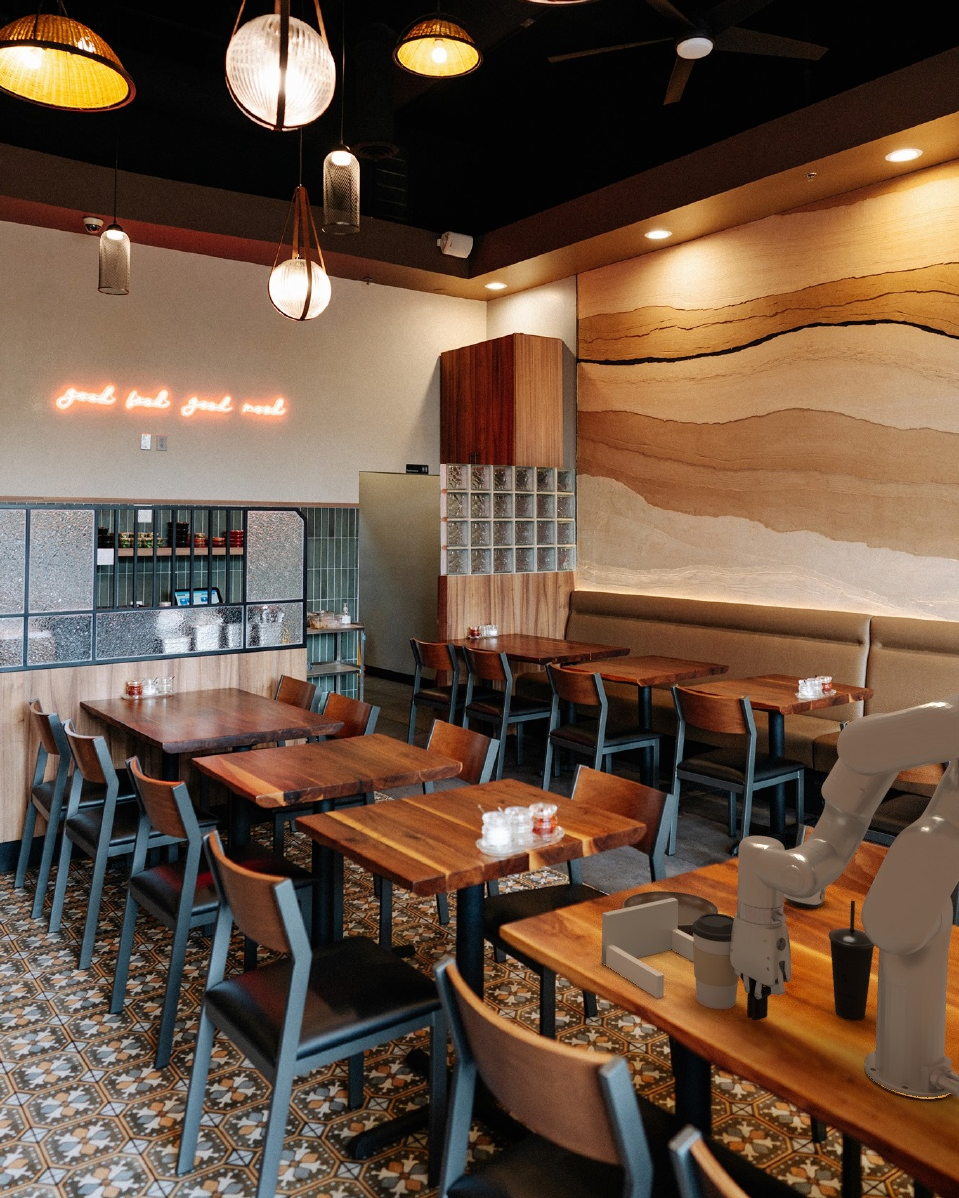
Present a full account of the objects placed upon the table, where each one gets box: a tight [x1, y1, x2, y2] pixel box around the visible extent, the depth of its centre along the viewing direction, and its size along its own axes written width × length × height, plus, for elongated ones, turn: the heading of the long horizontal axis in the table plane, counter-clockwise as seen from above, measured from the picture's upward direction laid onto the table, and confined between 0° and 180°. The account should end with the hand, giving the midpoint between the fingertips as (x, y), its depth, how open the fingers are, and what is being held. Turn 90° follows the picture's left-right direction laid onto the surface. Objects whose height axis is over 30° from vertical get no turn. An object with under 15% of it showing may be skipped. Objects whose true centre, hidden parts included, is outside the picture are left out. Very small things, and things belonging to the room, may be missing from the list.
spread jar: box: [784, 886, 827, 910], centre depth 217 cm, size 12×11×12 cm
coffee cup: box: [692, 913, 740, 1010], centre depth 167 cm, size 9×9×15 cm
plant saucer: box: [622, 890, 720, 935], centre depth 205 cm, size 21×21×3 cm
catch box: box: [601, 898, 694, 999], centre depth 179 cm, size 16×18×10 cm
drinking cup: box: [828, 900, 876, 1022], centre depth 162 cm, size 8×8×20 cm
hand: (757, 1016), depth 158 cm, fingers closed
